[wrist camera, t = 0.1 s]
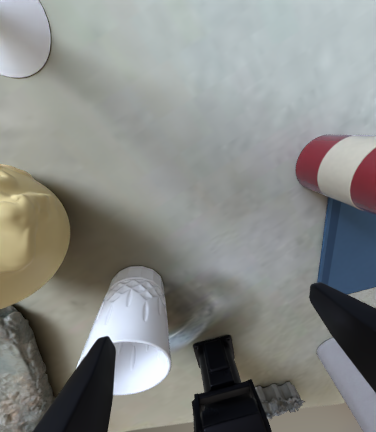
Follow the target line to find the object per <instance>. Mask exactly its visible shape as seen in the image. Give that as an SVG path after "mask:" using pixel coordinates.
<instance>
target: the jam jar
mask: <svg viewBox="0 0 376 432" xmlns="http://www.w3.org/2000/svg"><path fill="white" fill-rule="evenodd" d="M296 176H297V179H298V181H299V182H300V184H301V185H303V186H304V187H306V188H308V189H311V190H313V191H316V192H318V193H321V194H323V195H325V196H327V197H329V198H332V199H334V200H337V201H339V202H342V203H344V204H347V205H349V206H352V207H354V208H357V209H359V210H362V211H366V212H368V213H371V214H373V215H376V135H322V136H319V137H317V138H315V139H314V140H312V141H311V142H310V143H308V144H307V145H306V147H305V148H304V149H303V150H302V152H301V153H300V155H299V157H298V160H297V163H296Z"/></svg>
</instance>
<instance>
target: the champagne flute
mask: <svg viewBox="0 0 376 432" xmlns="http://www.w3.org/2000/svg"><path fill="white" fill-rule="evenodd" d="M50 44H51V38H50V29H49V24H48V20H47V17H46V15H45V12H44V9H43V7H42V5H41V3H40V2H39V0H0V74H1V75H4V76H8V77H16V78H22V77H27V76H30V75H32V74H34V73H36V72H37V71H39V70H40V69H41V68H42V67H43V65H44V64H45V62H46V61H47V58H48V55H49V52H50Z"/></svg>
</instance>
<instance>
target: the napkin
mask: <svg viewBox="0 0 376 432" xmlns="http://www.w3.org/2000/svg"><path fill="white" fill-rule="evenodd" d="M318 282H321V283H324V284H326V285H328V286H330V287H332V288H334V289H336V290H338V291H340V292H343V293H345V294H350V293H354V292H358V291H362V290H366V289H370V288H374V287H376V215H373V214H371V213H368V212H366V211H362V210H359V209H357V208H354V207H352V206H349V205H347V204H344V203H342V202H339V201H337V200H334V199H332V198H329V197H328V205H327V212H326V220H325V228H324V235H323V243H322V251H321V258H320V266H319V274H318V281H317V283H318Z"/></svg>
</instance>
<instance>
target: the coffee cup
mask: <svg viewBox="0 0 376 432" xmlns="http://www.w3.org/2000/svg"><path fill="white" fill-rule="evenodd" d="M317 355H318V357H319V359H320V360H321V362H322V364H323V365H324V367H325V369H326V370H327V372H328V374H329V375H330V377H331V379H332V380H333V382H334V384H335V385H336V387H337V389H338V390H339V392H340V394H341V395H342V397H343V399H344V400H345V402H346V404H347V405H348V407H349V409H350V410H351V412H352V414H353V415H354V417H355V418H356V420H357V422H358V424H359V425H360V427H361V429H362V431H363V432H376V393H375V392H374V390H373V389H372V388H371V386H370V385H369V384H368V382H367V381H366V380H365V378H364V377H363V376H362V375H361V373H360V372H359V371H358V369H357V368H356V367H355V365H354V364H353V363H352V361H351V360H350V359H349V358H348V356H347V355H346V354H345V352H344V351H343V350H342V348H341V347H340V346H339V344H338V343H337V342H336V340H335V339H334V338H331V339H329V340H327V341H325V342H324V343H322V344H321V345H320V346H319V347H318V349H317Z"/></svg>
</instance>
